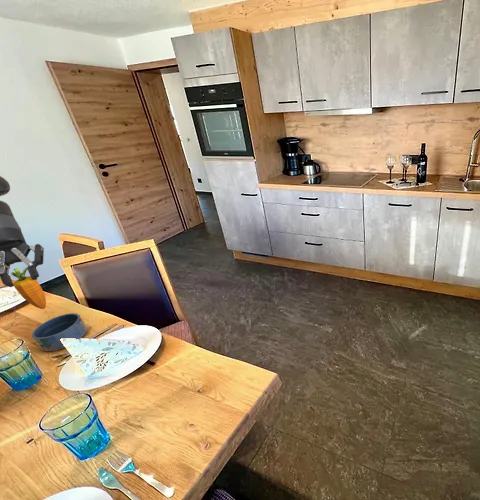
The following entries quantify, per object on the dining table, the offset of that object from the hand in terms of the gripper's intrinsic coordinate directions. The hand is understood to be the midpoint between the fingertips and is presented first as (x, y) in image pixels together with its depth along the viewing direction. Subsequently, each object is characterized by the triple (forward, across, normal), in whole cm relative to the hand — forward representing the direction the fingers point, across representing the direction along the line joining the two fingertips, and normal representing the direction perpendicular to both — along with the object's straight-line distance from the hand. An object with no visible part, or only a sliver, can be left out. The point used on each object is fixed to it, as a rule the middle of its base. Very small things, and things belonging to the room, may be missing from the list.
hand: (22, 282), depth 84 cm
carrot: (+7, 0, +9) cm, 11 cm away
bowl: (+15, 0, +20) cm, 25 cm away
